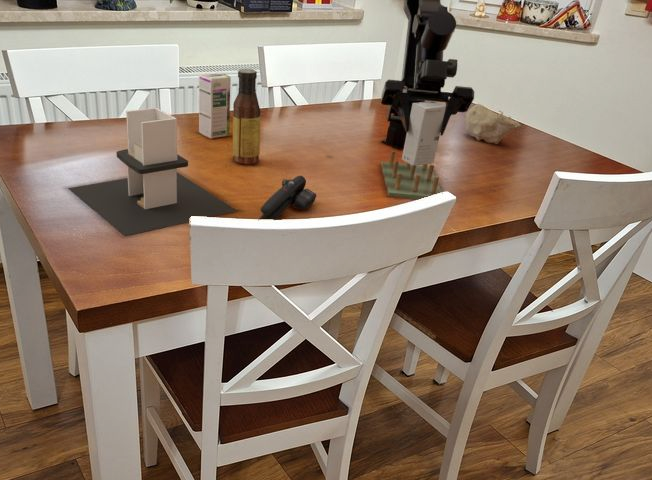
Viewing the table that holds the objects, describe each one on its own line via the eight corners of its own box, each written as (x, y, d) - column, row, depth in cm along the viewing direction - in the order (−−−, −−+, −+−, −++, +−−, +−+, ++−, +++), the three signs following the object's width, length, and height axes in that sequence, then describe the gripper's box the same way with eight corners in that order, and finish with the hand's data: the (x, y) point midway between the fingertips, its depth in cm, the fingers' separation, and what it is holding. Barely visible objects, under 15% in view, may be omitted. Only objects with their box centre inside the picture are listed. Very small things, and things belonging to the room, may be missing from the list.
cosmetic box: (414, 166, 139) (426, 108, 132) (400, 159, 142) (411, 102, 135) (435, 163, 142) (447, 106, 135) (421, 156, 145) (432, 100, 138)
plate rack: (380, 165, 157) (384, 147, 154) (430, 170, 157) (434, 151, 154) (387, 196, 140) (391, 176, 138) (443, 202, 140) (448, 181, 138)
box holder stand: (67, 188, 131) (58, 103, 121) (173, 170, 144) (173, 92, 134) (125, 235, 115) (119, 143, 106) (238, 210, 128) (242, 126, 119)
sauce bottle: (263, 160, 153) (269, 71, 142) (250, 167, 148) (255, 75, 137) (239, 154, 155) (243, 65, 144) (226, 161, 151) (229, 70, 139)
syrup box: (211, 139, 163) (212, 78, 155) (198, 132, 167) (198, 72, 159) (229, 136, 166) (231, 76, 158) (216, 129, 170) (217, 71, 162)
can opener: (290, 195, 137) (292, 168, 134) (319, 203, 134) (322, 177, 131) (244, 221, 124) (246, 193, 121) (276, 231, 121) (278, 203, 118)
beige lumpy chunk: (456, 137, 189) (458, 112, 174) (472, 117, 188) (475, 91, 174) (499, 166, 185) (505, 143, 170) (516, 145, 184) (523, 121, 170)
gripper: (392, 37, 132) (387, 108, 129) (484, 46, 132) (480, 117, 129) (383, 70, 143) (378, 135, 140) (467, 78, 143) (464, 144, 140)
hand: (424, 132), depth 137 cm, fingers closed on cosmetic box, 7 cm apart
